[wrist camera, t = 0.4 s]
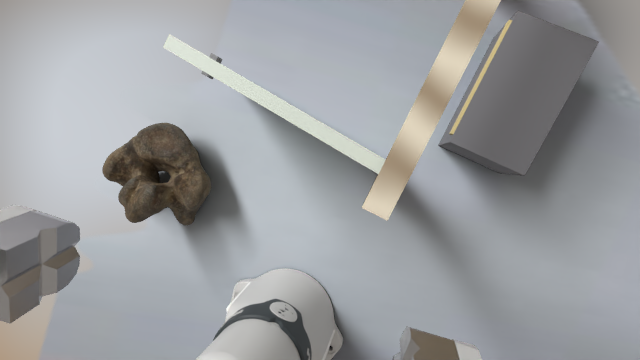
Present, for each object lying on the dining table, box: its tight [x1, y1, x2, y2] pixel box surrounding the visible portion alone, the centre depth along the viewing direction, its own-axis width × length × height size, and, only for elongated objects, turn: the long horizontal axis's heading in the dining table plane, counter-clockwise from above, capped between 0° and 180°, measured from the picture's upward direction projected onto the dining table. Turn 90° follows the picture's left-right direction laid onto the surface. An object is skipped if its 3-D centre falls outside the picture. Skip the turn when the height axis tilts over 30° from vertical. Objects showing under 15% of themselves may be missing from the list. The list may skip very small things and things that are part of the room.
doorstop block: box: [439, 11, 599, 176], centre depth 43 cm, size 16×9×9 cm, turn 154°
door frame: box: [362, 0, 501, 221], centre depth 38 cm, size 33×2×22 cm, turn 154°
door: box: [163, 34, 385, 174], centre depth 43 cm, size 27×3×18 cm, turn 59°
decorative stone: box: [103, 123, 211, 225], centre depth 53 cm, size 16×11×15 cm
